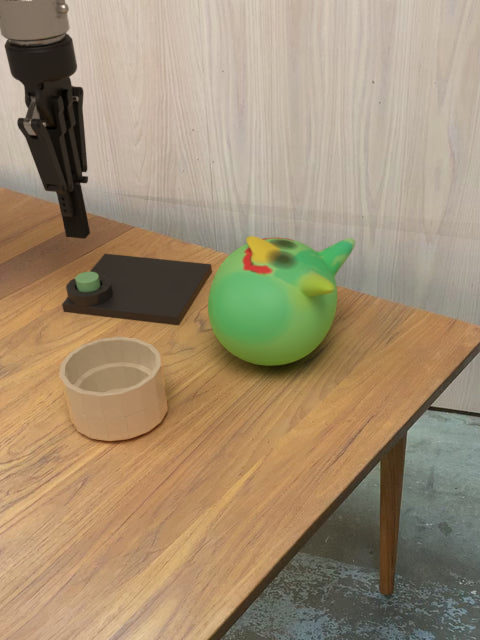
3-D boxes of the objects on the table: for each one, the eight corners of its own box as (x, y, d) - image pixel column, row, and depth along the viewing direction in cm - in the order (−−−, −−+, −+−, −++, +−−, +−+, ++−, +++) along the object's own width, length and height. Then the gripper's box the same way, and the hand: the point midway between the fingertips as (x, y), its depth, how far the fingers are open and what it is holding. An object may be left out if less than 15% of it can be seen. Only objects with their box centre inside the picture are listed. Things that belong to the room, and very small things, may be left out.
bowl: (55, 437, 89) (42, 387, 84) (95, 380, 97) (85, 331, 92) (147, 451, 87) (139, 401, 82) (180, 391, 94) (174, 342, 90)
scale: (63, 312, 109) (58, 293, 107) (105, 261, 119) (102, 243, 117) (178, 326, 105) (176, 306, 103) (212, 272, 116) (210, 253, 114)
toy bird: (231, 307, 108) (224, 205, 98) (352, 317, 106) (357, 213, 96) (197, 383, 96) (185, 275, 86) (333, 397, 93) (337, 287, 83)
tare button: (73, 291, 108) (71, 281, 107) (83, 280, 110) (81, 270, 109) (94, 294, 107) (92, 283, 106) (104, 282, 109) (102, 272, 108)
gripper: (41, 54, 82) (83, 261, 98) (92, 22, 91) (123, 215, 107) (-23, 52, 83) (29, 255, 99) (34, 20, 93) (73, 211, 109)
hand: (78, 234), depth 103 cm, fingers closed
